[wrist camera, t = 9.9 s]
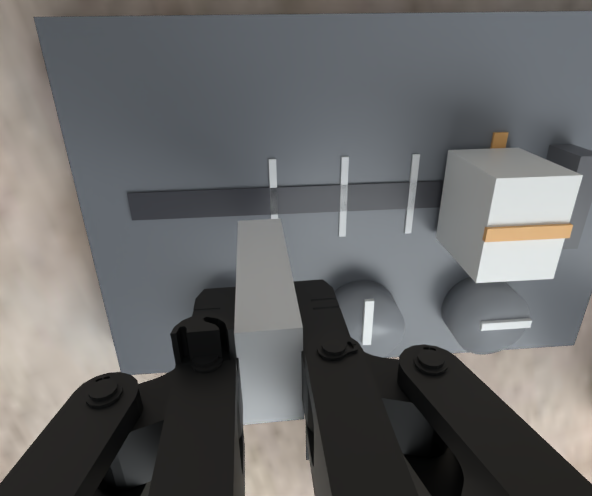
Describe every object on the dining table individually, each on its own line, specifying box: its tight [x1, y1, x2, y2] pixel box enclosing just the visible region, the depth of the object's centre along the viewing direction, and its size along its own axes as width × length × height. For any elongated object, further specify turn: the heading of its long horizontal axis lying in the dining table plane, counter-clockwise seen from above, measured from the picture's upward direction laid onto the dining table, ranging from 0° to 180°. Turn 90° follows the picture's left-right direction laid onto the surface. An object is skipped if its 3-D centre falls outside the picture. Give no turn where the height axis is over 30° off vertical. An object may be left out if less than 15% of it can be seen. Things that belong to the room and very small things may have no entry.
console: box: [34, 11, 592, 375], centre depth 19 cm, size 24×16×4 cm, turn 91°
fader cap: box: [436, 148, 583, 283], centre depth 17 cm, size 3×4×4 cm
